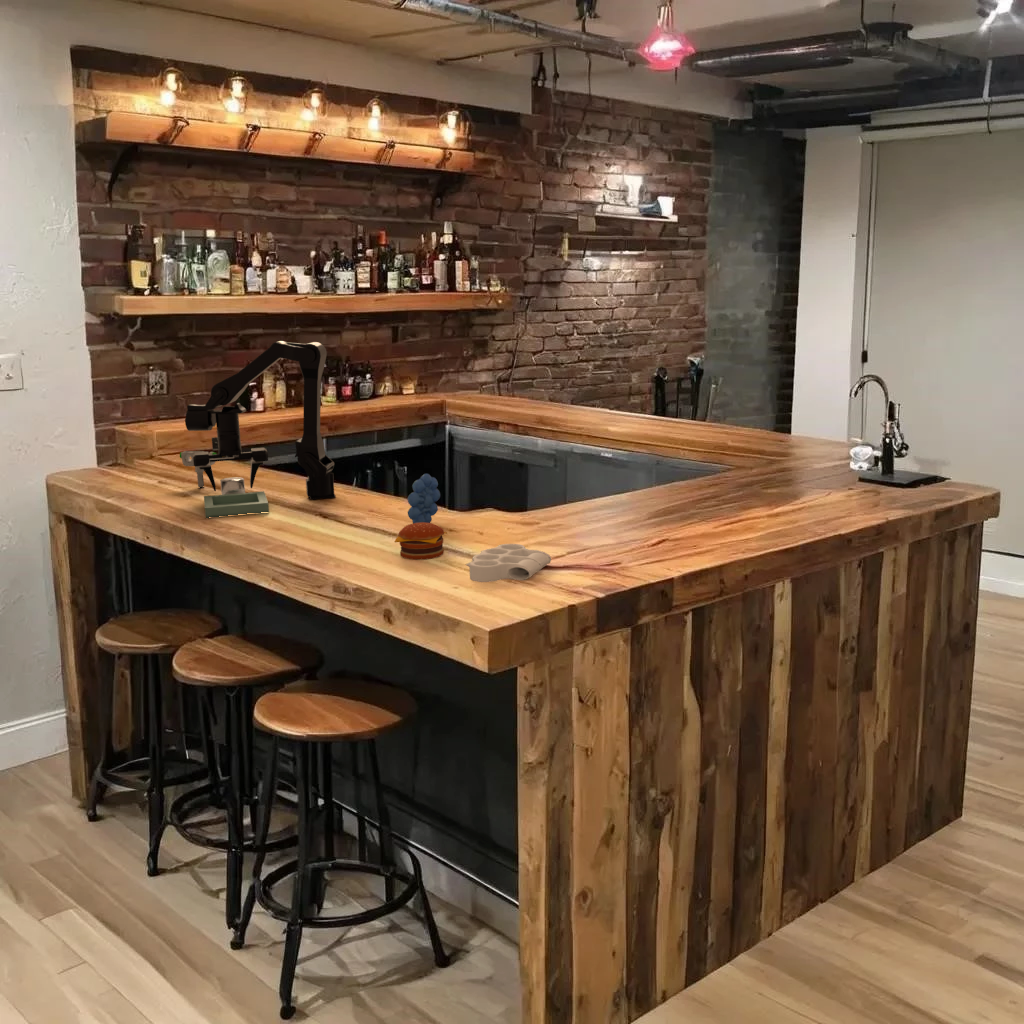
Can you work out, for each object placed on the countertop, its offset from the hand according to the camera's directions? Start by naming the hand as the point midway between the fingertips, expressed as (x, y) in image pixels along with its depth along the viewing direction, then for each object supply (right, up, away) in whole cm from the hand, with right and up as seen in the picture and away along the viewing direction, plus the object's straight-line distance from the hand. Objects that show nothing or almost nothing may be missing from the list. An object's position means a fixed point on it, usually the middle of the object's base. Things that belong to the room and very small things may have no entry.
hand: (233, 489), depth 295 cm
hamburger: (+54, -15, -61) cm, 83 cm away
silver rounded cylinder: (0, -2, +1) cm, 2 cm away
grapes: (+52, -9, -36) cm, 64 cm away
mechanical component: (-13, +1, +15) cm, 20 cm away
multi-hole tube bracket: (+72, -18, -74) cm, 105 cm away
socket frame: (+4, -5, -14) cm, 15 cm away
